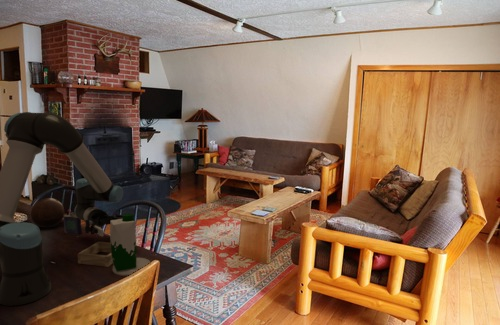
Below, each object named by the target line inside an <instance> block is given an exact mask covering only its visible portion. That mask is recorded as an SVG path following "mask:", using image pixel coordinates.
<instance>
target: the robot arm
mask: <svg viewBox="0 0 500 325" xmlns="http://www.w3.org/2000/svg"><path fill="white" fill-rule="evenodd" d="M3 130H4V132H5V135H4V136H5V137H6V138H7V139H6V144H7V146H8V147H9V148H8V150H7V153H6V155H5V159H4V161H3V163H2V166H1V169H0V268H1V279H0V305H3V306H7V307H8V306H10V307H14V306H22V305H25V304H30V303H34V302H35V301H38V300H40V299H42V298H44V297H45V296H47V295H48V294H49V293H50V292H51V290H52V283H51V279H50V278H49V275H48V274H47V272H46V270H45V268H44V254H43V243H42V242H43V240H42V238H43V237H42V235H41V234H42V233H41V230H40V227H39V226H38V225H36V224H35V223H30V222H23V221H22V222H17V221H16V220H15V219H14V217H15V214H16V211H17V208H18V207H19V203H20V200H21V197H22V194H23V192H24V189H25V186H26V184H27V181H28V178H29V175H30V172H31V170H32V168H33V167H32V166H33V164H34V160H35V157H36V156H37V155H38V154H41V153H42V152H43V150H44V147H45V145H49V146H53V147H55V148H56V149H57V150H58V152H60V153H61V154H65V155H66V156H67V158H68V159H69V160H70V161H71V163H72V164H73V165H74V166H75V168H76V169H77V170H78V171H79V172H80V174H81V175H82V176H83V177H84V178H79V179H77V180H76V181H75V196H76V205H75V207H74V210H73V212H74V213H73V214H75V215H76V216H77V217H78V218H79V219H81V221H84V230H85V234H89V233H90V235H94V234H96V235H98V236H100V237H104V236H105V234H104V229H103V228H101V227H103V226H106V225H110V220H117V219H122V215H123V214H118V213H113V215H108V213H107V212H106V211H105V210H103V209H100V208H99V207H96V202H102V203H103V202H105V203H110V204H111V203H116V204H117V203H120V202H121V201H122V199H123V197H124V188H122V186H120V185H115V184H114V183H113V182H112V181H111V179H110V178H109V176H108V175H107V173H105V171H104V170H103V168H102V167H101V165H100V164H99V163H98V162H97V160H96V158H95V157H94V155H93V154H92V153H91V151H90V150H89V149H88V147H87V146H86V145H85V144H84V137H83V136H82V134H81V133H80V132H79V131H78V129H77V128H76V127H75V126H74V125H73V124H72V123H70V121H68V120H67V119H66V118H64V117H62V116H61V115H59V114H57V113H56V114H55V113H51V112H31V111H25V112H24V111H23V112H17V113H14V114H12V115H11V116H10V117H9V118H8V119H7V120H6V122H5V124H4V128H3ZM136 226H137V225H136V224H135V229H136Z"/></svg>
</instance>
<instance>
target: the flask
mask: <svg viewBox="0 0 500 325" xmlns="http://www.w3.org/2000/svg"><path fill="white" fill-rule="evenodd" d="M63 226H64V227H63V228H64V234H66V235H75V236H81V235H82V234H83V233H82V220H81V219H79V218H78V217H77V216H76V215H75V213H74V211H72V212H70V213H69V214H64V216H63Z"/></svg>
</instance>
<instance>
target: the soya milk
mask: <svg viewBox="0 0 500 325" xmlns="http://www.w3.org/2000/svg"><path fill="white" fill-rule="evenodd" d="M121 215H122V219H117V220H110V224H109V225H110V226H109V230H110V231H109V234H110V235H109V236H110V238H109V239H110V243H111V255H112V259H113V265H114V266H115V268H116V271H120V270H126V269H131V268H136V259H137V258H138V257H137V256H138V255H137V233H136V228H135V225H136V221H135V218H134V214H133V213H125V214H124V213H123V214H121Z"/></svg>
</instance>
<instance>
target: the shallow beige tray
mask: <svg viewBox="0 0 500 325" xmlns="http://www.w3.org/2000/svg"><path fill="white" fill-rule="evenodd" d="M100 252H102V253H108V254H107V255H106V254H105V255H104V254H98V253H100ZM77 264H81V265H82V264H83V265H91V266H98V267H106V268H108V267H110V266H111V265H114V263H113V259H112V255H111V242H107V241H96V242H95V243H93V244H92V245H90V246H89V247H87V248H85V249H83V250H82V251H80V252H78V253H77Z"/></svg>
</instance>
